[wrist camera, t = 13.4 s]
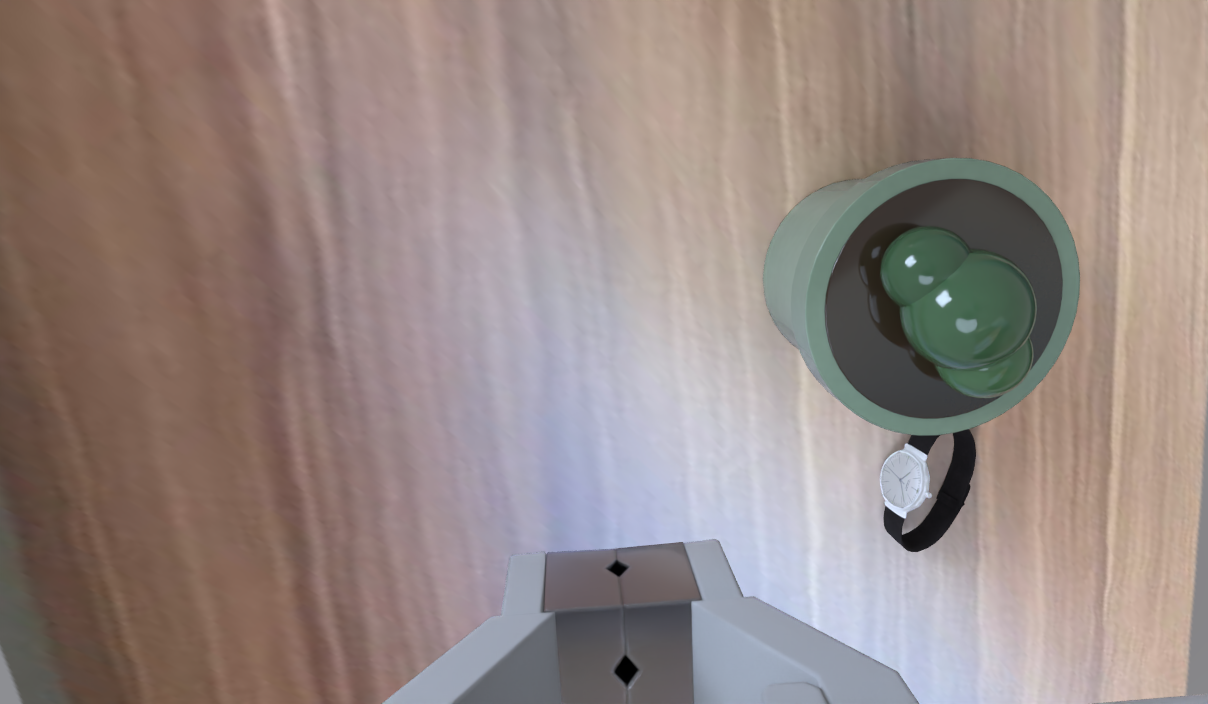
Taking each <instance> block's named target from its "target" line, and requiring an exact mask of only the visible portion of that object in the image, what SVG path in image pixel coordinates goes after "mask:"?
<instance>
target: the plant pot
mask: <svg viewBox="0 0 1208 704" xmlns="http://www.w3.org/2000/svg"><path fill="white" fill-rule="evenodd" d="M763 286H764V295H765V300H766V304H767V307H768V310H769V313H770V315H771V317H772V319H773V321H774V323H775V325H776V326H777V328H778V329H779V331H780V332H781V334H782V335H783V336H784V337H785V338H786V339H787V340H788V341H789V342H790V343H791V344H792V345H793V346H795V347H796V348H797V349H798V350H800V353H801V355H802V357H803V359H804V361H805V363H806V365H807V367H808V368H809V370H810V371H811V373H812V374H813V376H814V377H815V378H816V380H817V381H818V382H819V383H820V384H821V385H822V386H823V387H824V388H825V390H826V391H827V392H829V393H830V394H831V395H832V396H833V397H835V398H836V399H837V400H838V401H840V402H841V403H842V404H843V405H845V406H846V407H847V408H848V409H850V410H851V411H852V412H853V413H855V414H856V415H858V416H859V417H861V418H863V419H864V420H866V421H868V422H870V423H872V424H874V425H877V426H879V427H881V428H884V429H887V430H890V431H894V432H898V433H902V434H910V435H942V434H950V433H955V432H959V431H963V430H967V429H971V428H973V427H976V426H978V425H981V424H983V423H986V422H988V421H990V420H992V419H994V418H996V417H997V416H999V415H1001V414H1003V413H1005V412H1006V411H1007V410H1009V409H1010V408H1012V407H1013V406H1015V405H1016V404H1018V403H1019V402H1020V401H1021V400H1022V399H1023V398H1025V397H1026V396H1027V395H1028V394H1029V393H1030V392H1031V391H1032V390H1033V389H1034V388H1035V387H1036V386H1037V385H1038V384H1039V383H1040V382H1041V381H1042V380H1043V378H1044V377H1045V376H1046V375H1047V373H1048V372H1049V370H1050V369H1051V368H1052V366H1053V365H1054V364H1055V362H1056V360H1057V358H1058V357H1059V355H1060V353H1061V351H1062V350H1063V348H1064V346H1065V344H1066V341H1067V339H1068V337H1069V334H1070V332H1071V329H1072V326H1073V322H1074V319H1075V316H1076V312H1077V306H1078V299H1079V289H1080V272H1079V262H1078V256H1077V251H1076V247H1075V243H1074V240H1073V237H1072V235H1071V232H1070V230H1069V227H1068V225H1067V223H1066V221H1065V220H1064V218H1063V216H1062V214H1061V213H1060V211H1059V209H1058V208H1057V207H1056V205H1055V204H1054V203H1053V202H1052V200H1051V199H1050V198H1049V197H1048V196H1047V195H1046V194H1045V193H1044V192H1043V191H1042V190H1041V189H1040V188H1039V187H1038V186H1037V185H1036V184H1034V183H1033V182H1031V181H1030V180H1029V179H1027V178H1026V177H1024V176H1023V175H1021V174H1019V173H1017V172H1015V171H1013V170H1011V169H1009V168H1007V167H1005V166H1002V165H999V164H995V163H992V162H989V161H984V160H978V159H972V158H940V159H925V160H917V161H910V162H906V163H902V164H898V165H894V166H891V167H889V168H886V169H884V170H881V171H879V172H876V173H874V174H873V175H871V176H869V177H867V178H866V179H852V180H845V181H841V182H837V183H833V184H831V185H828V186H826V187H823V188H821V189H819V190H817V191H816V192H814V193H812V194H810V195H809V196H808V197H806V198H805V199H804V200H802V201H801V202H800V203H799V204H797V205H796V206H795V207H794V208H793V209H792V210H791V211H790V212H789V214H788V215H787V216H786V217H785V218H784V220H783V221H782V222H781V224H780V226H779V227H778V229H777V230H776V232H775V234H774V236H773V238H772V240H771V243H770V245H769V248H768V251H767V255H766V259H765V264H764V274H763Z"/></svg>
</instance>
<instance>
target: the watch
mask: <svg viewBox="0 0 1208 704" xmlns="http://www.w3.org/2000/svg"><path fill="white" fill-rule="evenodd" d="M939 436H940V435H912V436H911V438H910V440H909V442H908V444H906V443H905V447H904V449H903V450H899V451H897V452H895V453H893V454H891V455H890V456H889V457H888V458H887V459H886V460H885V463H884V465H883V467H882V470H881V474H880V486H881V491H882V495H883V497H884V498H885V500H886V501H885V502H884V504H885V505H886V507H885V511H884V526H885V529H886V531H887V532H888V533H889V534H890V535H891V536H892V537H893V538H894V539H895V540H896V541H897V542H898V543H899V544H901V545H902V546H903V547H904V548H905V549H906V550H908V551H911V552H919V551H921V550H924V549H926V548H928V547H930V546H931V545H933V544H935V543H936V542H937V541H938V540H939V539H940V538H941V537H942V536H943V535H944V533H945V532H946V531H947V530H948V528H949V527H950V525H951V524H952V522H953V521H954V519H955V518H956V516H957V514H958V513H959V511H960V509H961V507H962V506H964V501H965V499H966V497H967V495H968V493H969V490H970V484H969V483H970V480H971V478H972V475H973V471H974V466H975V459H976V449H975V442H974V438H973V436H972V434H971V432H970V430H969V429H967V430H963V431H959V432H955V433H953V436H954V452H953V457H952V462H951V465H950V468H949V470H948V473H947V476H946V479H945V482H944V484H943V486H942V488H941V490H940V491H939V494H938V496H937V498H936V499H938V500H937V501H936V503H935V505H934V506H933V508H932V510H931V511H930V513H929V514H928V516H927V517H926V518H925V520H924V521H923V522H922V523H921V524H920V525H919V526H918V527H917V528H915V529H914V530H912V531H910V532H909V533H906V534H903V535H902V526H903V523H904V519H905V518H906V515H907V512H909V511H911V510H914V509H916V508H917V507H919V506H920V505H921V504H922V503H923V502H924V500H925V498H926V497H927V498H931V497H932V494H931V493H929V482H930V475H929V471H928V466H927V463H926V459H927V457H928V453H929V451H930V449H931V447H932V445H933V444H934V442H935V441H936V439H937V438H938V437H939Z"/></svg>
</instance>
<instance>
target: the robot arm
mask: <svg viewBox="0 0 1208 704" xmlns="http://www.w3.org/2000/svg"><path fill="white" fill-rule="evenodd" d="M382 704H919V703H918V701H917V700H916V698H915V697H914V695H913V694H912V692H911V691H910V689H909V688H908V686H907V685H906V683H905V682H904V680H903V679H902V678H901V676H900V675H899V673H898V672H897V671H895V670H893V669H891V668H889V667H887V666H885V665H884V664H882V663H880V662H878V661H876V660H874V659H872V658H870V657H868V656H866V655H864V654H862V653H861V652H859V651H857V650H855V649H853V648H851V647H849V646H847V645H845V644H843V643H841V642H840V641H838V640H836V639H834V638H832V637H830V636H828V635H826V634H824V633H822V632H820V631H819V630H817V629H815V628H813V627H811V626H809V625H807V624H805V623H803V622H801V621H799V620H798V619H796V618H794V617H792V616H790V615H788V614H786V613H784V612H782V611H780V610H778V609H777V608H775V607H773V606H771V605H769V604H767V603H765V602H763V601H761V600H759V599H757V598H755V597H743V594H742V592H741V590H740V587H739V585H738V583H737V581H736V578H735V576H734V574H733V572H732V569H731V567H730V565H729V563H728V560H727V558H726V556H725V554H724V551H723V549H722V547H721V544H720V542H719V541H718V540H716V539H711V540H703V541H695V542H687V543H683V542H678V543H668V544H657V545H647V546H637V547H627V548H617V549H599V550H580V551H562V552H547V555H546V553H545V552H536V553H526V554H516V555H512V556H511V557H510V558H509V563H508V570H507V577H506V584H505V591H504V597H503V604H502V611H501V616H493V617H490V618H489V619H488V620H486V621H485V622H484V623H483V624H481V625H480V626H479V627H478V628H476V629H475V630H474V631H472V632H471V633H470V634H469V635H467V636H466V637H465V638H464V639H462V640H461V641H460V642H459V643H457V644H456V645H455V646H454V647H452V648H451V649H450V650H449V651H447V652H446V653H445V654H444V655H442V656H441V657H440V658H439V659H437V660H436V661H435V662H433V663H432V664H431V665H430V666H428V667H427V668H426V669H425V670H423V671H422V672H421V673H420V674H418V675H417V676H416V677H415V678H413V679H412V680H411V681H410V682H408V683H407V684H406V685H405V686H403V687H402V688H401V689H400V690H398V691H397V692H396V693H394V694H393V695H392V696H391V697H389V698H388V699H387V700H386V701H384V702H383V703H382ZM1094 704H1208V694H1201V695H1189V696H1177V697H1165V698H1153V699H1141V700H1129V701H1117V702H1106V703H1094Z"/></svg>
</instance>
